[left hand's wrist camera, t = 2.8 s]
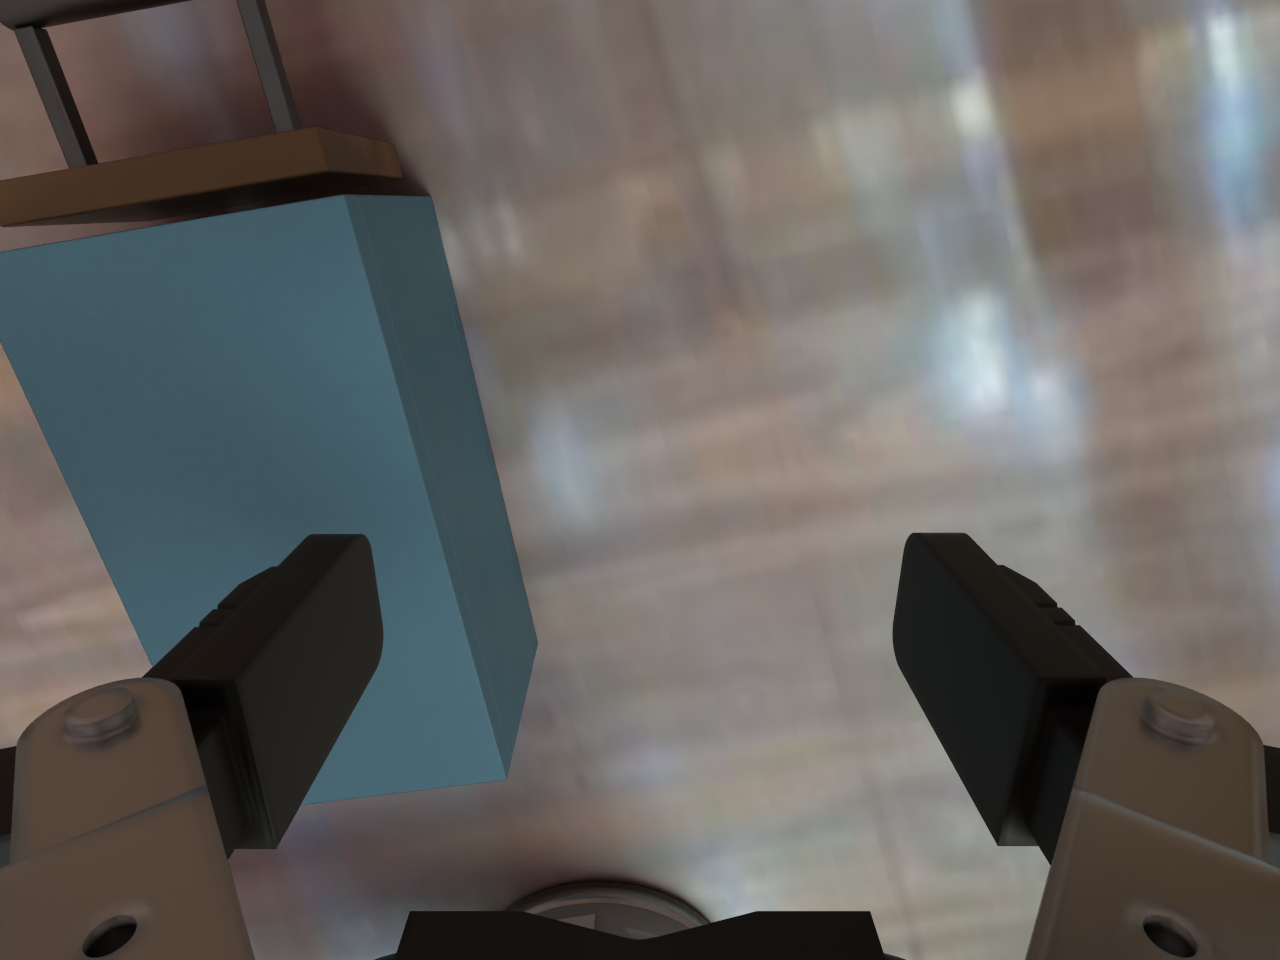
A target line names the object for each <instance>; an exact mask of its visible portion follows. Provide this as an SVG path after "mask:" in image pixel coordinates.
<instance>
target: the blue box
mask: <svg viewBox="0 0 1280 960" xmlns="http://www.w3.org/2000/svg"><path fill="white" fill-rule="evenodd" d="M0 342H1V344H2V346H3V348H4V350H5V352H6V355H7V357H8V359H9V361H10V363H11V365H12V367H13V370H14V372H15V374H16V376H17V378H18V380H19V382H20V385H21V387H22V389H23V391H24V393H25V395H26V397H27V400H28V402H29V404H30V406H31V408H32V410H33V412H34V414H35V417H36V419H37V421H38V423H39V425H40V427H41V429H42V432H43V434H44V436H45V438H46V440H47V442H48V444H49V447H50V449H51V451H52V453H53V455H54V457H55V459H56V462H57V464H58V466H59V468H60V470H61V472H62V474H63V477H64V479H65V481H66V483H67V485H68V487H69V489H70V491H71V494H72V496H73V498H74V500H75V502H76V504H77V506H78V509H79V511H80V513H81V515H82V517H83V519H84V521H85V524H86V526H87V528H88V530H89V532H90V534H91V536H92V539H93V541H94V543H95V545H96V547H97V549H98V551H99V553H100V556H101V558H102V560H103V562H104V564H105V566H106V568H107V571H108V573H109V575H110V577H111V579H112V581H113V583H114V586H115V588H116V590H117V592H118V594H119V596H120V598H121V601H122V603H123V605H124V607H125V609H126V611H127V613H128V616H129V618H130V620H131V622H132V624H133V626H134V628H135V630H136V633H137V635H138V637H139V639H140V641H141V643H142V645H143V648H144V650H145V652H146V654H147V656H148V658H149V660H150V663H151V665H152V667H153V666H155V665H156V664H157V663H158V662H159V661H160V660H161V659H162V658H163V657H164V656H165V655H166V654H167V653H168V652H169V651H170V650H171V649H172V648H173V647H174V646H175V645H176V644H177V643H178V642H179V641H181V640H182V639H183V638H184V637H185V636H186V635H187V634H188V633H189V632H190V631H191V630H192V629H193V628H194V627H199V622H200V621H201V620H202V619H203V618H204V617H205V616H206V615H208V614H209V613H210V612H211V611H212V610H213V609H217V607H218V606H217V605H218V604H219V603H220V602H221V601H222V600H223V599H224V598H225V597H226V596H227V595H228V594H229V593H230V592H231V591H232V590H234V589H235V588H236V587H237V586H238V585H239V584H240V583H242V582H244V581H246V580H248V579H250V578H251V577H253V576H255V575H257V574H259V573H261V572H262V571H264V570H266V569H268V568H270V567H272V566H278V565H279V564H280V563H281V562H282V561H283V560H284V559H285V558H286V557H287V556H288V555H289V554H290V553H291V552H292V551H293V550H294V549H295V548H296V547H297V546H298V545H299V544H300V543H301V542H302V541H303V540H304V539H305V538H306V537H307V536H308V535H310V534H364V535H365V536H366V537H367V538H368V540H369V542H370V545H371V549H372V554H373V561H374V568H375V574H376V581H377V588H378V595H379V601H380V608H381V615H382V622H383V633H384V635H383V648H382V654H381V658H380V662H379V665H378V667H377V669H376V671H375V673H374V675H373V677H372V678H371V680H370V682H369V684H368V685H367V687H366V689H365V691H364V693H363V694H362V696H361V698H360V700H359V702H358V703H357V705H356V707H355V709H354V710H353V712H352V714H351V716H350V718H349V719H348V721H347V723H346V725H345V727H344V728H343V730H342V732H341V734H340V735H339V737H338V739H337V741H336V743H335V744H334V746H333V748H332V750H331V752H330V753H329V755H328V757H327V759H326V761H325V762H324V764H323V766H322V768H321V769H320V771H319V773H318V775H317V777H316V778H315V780H314V782H313V784H312V786H311V787H310V789H309V791H308V793H307V794H306V796H305V798H304V800H303V802H302V803H301V805H304V804H312V803H321V802H329V801H337V800H345V799H354V798H362V797H370V796H378V795H386V794H395V793H403V792H411V791H419V790H428V789H436V788H444V787H452V786H461V785H469V784H477V783H485V782H494V781H502V780H506V779H507V775H508V771H509V766H510V762H511V758H512V753H513V749H514V745H515V740H516V736H517V732H518V727H519V723H520V719H521V714H522V710H523V706H524V701H525V697H526V693H527V688H528V684H529V680H530V675H531V671H532V667H533V662H534V658H535V654H536V649H537V645H538V643H537V638H536V634H535V630H534V626H533V622H532V617H531V613H530V609H529V605H528V601H527V596H526V592H525V588H524V584H523V580H522V575H521V571H520V567H519V563H518V559H517V554H516V550H515V546H514V542H513V538H512V533H511V529H510V525H509V521H508V517H507V513H506V508H505V504H504V500H503V496H502V492H501V487H500V483H499V479H498V475H497V471H496V466H495V462H494V458H493V454H492V450H491V445H490V441H489V437H488V433H487V429H486V424H485V420H484V416H483V412H482V408H481V403H480V399H479V395H478V391H477V387H476V382H475V378H474V374H473V370H472V366H471V361H470V357H469V353H468V349H467V345H466V340H465V336H464V332H463V328H462V324H461V319H460V315H459V311H458V307H457V303H456V298H455V294H454V290H453V286H452V282H451V277H450V273H449V269H448V265H447V261H446V256H445V252H444V248H443V244H442V240H441V235H440V231H439V227H438V223H437V219H436V214H435V210H434V206H433V202H432V198H431V196H395V195H345V194H342V195H336V196H330V197H324V198H318V199H312V200H306V201H300V202H294V203H288V204H282V205H276V206H270V207H264V208H259V209H253V210H247V211H241V212H235V213H229V214H223V215H217V216H211V217H205V218H199V219H193V220H187V221H181V222H175V223H169V224H163V225H157V226H151V227H145V228H139V229H133V230H127V231H121V232H115V233H109V234H104V235H98V236H92V237H86V238H80V239H74V240H68V241H62V242H56V243H50V244H44V245H38V246H32V247H26V248H20V249H14V250H8V251H2V252H0Z"/></svg>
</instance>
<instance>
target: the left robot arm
mask: <svg viewBox="0 0 1280 960" xmlns="http://www.w3.org/2000/svg"><path fill="white" fill-rule="evenodd" d="M217 606H218V607H217V609H213V610H212V611H211V612H210V613H209V614H208V615H206V616H205V617H204V618H203V619H202V620H201V621H200V622H199V627H194V628H193V629H192V630H191V631H190V632H189V633H188V634H187V635H186V636H185V637H184V638H183V639H182V640H181V641H179V642H178V643H177V644H176V645H175V646H174V647H173V648H172V649H171V650H170V651H169V652H168V653H167V654H166V655H165V656H164V657H163V658H162V659H161V660H160V661H159V662H158V663H157V664H156V665H155V666H153V667H152V668H151V669H150V670H149V671H148V672H147V673H146V674H145V675H144V676H143V677H142V678H133V679H125V680H120V681H115V682H111V683H107V684H104V685H100V686H97V687H94V688H91V689H88V690H86V691H83V692H81V693H79V694H76V695H74V696H72V697H70V698H68V699H66V700H64V701H62V702H60V703H58V704H57V705H55V706H53V707H52V708H50V709H48V710H47V711H46V712H44V713H43V714H42V715H40V716H39V717H38V718H36V719H35V720H34V721H33V722H32V723H31V724H30V725H29V726H28V727H27V728H26V729H25V731H24V732H23V733H22V735H21V736H20V738H19V740H18V743H17V746H14V747H9V748H4V749H0V960H255V958H254V955H253V951H252V947H251V944H250V940H249V936H248V933H247V929H246V925H245V922H244V918H243V914H242V911H241V907H240V903H239V900H238V896H237V892H236V889H235V885H234V881H233V878H232V874H231V870H230V867H229V863H228V859H229V857H230V856H231V854H232V853H233V851H234V849H276V848H277V846H278V844H279V843H280V841H281V839H282V837H283V836H284V834H285V832H286V830H287V828H288V827H289V825H290V823H291V821H292V819H293V818H294V816H295V814H296V812H297V811H298V809H299V807H300V805H301V803H302V802H303V800H304V798H305V796H306V794H307V793H308V791H309V789H310V787H311V786H312V784H313V782H314V780H315V778H316V777H317V775H318V773H319V771H320V769H321V768H322V766H323V764H324V762H325V761H326V759H327V757H328V755H329V753H330V752H331V750H332V748H333V746H334V744H335V743H336V741H337V739H338V737H339V735H340V734H341V732H342V730H343V728H344V727H345V725H346V723H347V721H348V719H349V718H350V716H351V714H352V712H353V710H354V709H355V707H356V705H357V703H358V702H359V700H360V698H361V696H362V694H363V693H364V691H365V689H366V687H367V685H368V684H369V682H370V680H371V678H372V677H373V675H374V673H375V671H376V669H377V667H378V665H379V662H380V658H381V654H382V648H383V635H384V633H383V622H382V615H381V608H380V601H379V595H378V588H377V581H376V574H375V568H374V561H373V554H372V549H371V545H370V542H369V540H368V538H367V537H366V536H365V535H364V534H310V535H308V536H307V537H306V538H305V539H304V540H303V541H302V542H301V543H300V544H299V545H298V546H297V547H296V548H295V549H294V550H293V551H292V552H291V553H290V554H289V555H288V556H287V557H286V558H285V559H284V560H283V561H282V562H281V563H280V564H279V565H278V566H272V567H270V568H268V569H266V570H264V571H262V572H261V573H259V574H257V575H255V576H253V577H251V578H250V579H248V580H246V581H244V582H242V583H240V584H239V585H238V586H237V587H236V588H235V589H234V590H232V591H231V592H230V593H229V594H228V595H227V596H226V597H225V598H224V599H223V600H222V601H221V602H220V603H219V604H218V605H217ZM893 646H894V652H895V657H896V660H897V663H898V666H899V668H900V670H901V672H902V673H903V675H904V677H905V679H906V681H907V682H908V684H909V686H910V688H911V690H912V691H913V693H914V695H915V697H916V699H917V700H918V702H919V704H920V706H921V708H922V710H923V711H924V713H925V715H926V717H927V719H928V720H929V722H930V724H931V726H932V728H933V729H934V731H935V733H936V735H937V737H938V738H939V740H940V742H941V744H942V746H943V748H944V749H945V751H946V753H947V755H948V757H949V758H950V760H951V762H952V764H953V766H954V767H955V769H956V771H957V773H958V775H959V776H960V778H961V780H962V782H963V784H964V785H965V787H966V789H967V791H968V793H969V795H970V796H971V798H972V800H973V802H974V804H975V805H976V807H977V809H978V811H979V813H980V814H981V816H982V818H983V820H984V822H985V823H986V825H987V827H988V829H989V831H990V833H991V834H992V836H993V838H994V840H995V842H996V843H997V845H998V846H1039V847H1040V849H1041V851H1042V852H1043V854H1044V855H1045V857H1046V859H1047V860H1048V862H1049V864H1050V865H1051V867H1050V870H1049V874H1048V878H1047V881H1046V885H1045V889H1044V892H1043V896H1042V900H1041V903H1040V907H1039V911H1038V914H1037V918H1036V922H1035V925H1034V929H1033V933H1032V936H1031V940H1030V944H1029V947H1028V951H1027V955H1026V958H1025V960H1280V748H1276V747H1271V746H1266V745H1263V743H1262V740H1261V738H1260V736H1259V735H1258V733H1257V732H1256V731H1255V729H1254V728H1253V727H1252V726H1251V725H1250V724H1249V723H1248V722H1247V721H1246V720H1245V719H1244V718H1242V717H1241V716H1240V715H1238V714H1237V713H1236V712H1234V711H1233V710H1232V709H1230V708H1228V707H1227V706H1225V705H1223V704H1222V703H1220V702H1218V701H1216V700H1214V699H1212V698H1210V697H1208V696H1206V695H1204V694H1201V693H1199V692H1197V691H1194V690H1192V689H1189V688H1186V687H1183V686H1180V685H1176V684H1173V683H1169V682H1165V681H1160V680H1155V679H1147V678H1133V677H1132V676H1131V675H1130V674H1129V673H1128V672H1127V671H1126V670H1125V669H1124V668H1123V667H1122V666H1121V665H1120V664H1119V663H1118V662H1117V661H1116V660H1115V659H1114V658H1113V657H1112V656H1111V655H1110V654H1109V653H1108V652H1107V651H1106V650H1105V649H1104V648H1103V647H1102V646H1101V645H1099V644H1098V643H1097V642H1096V641H1095V640H1094V639H1093V638H1092V637H1091V636H1090V635H1089V634H1088V633H1087V632H1086V631H1085V630H1084V629H1083V628H1082V627H1081V626H1080V625H1075V620H1074V619H1073V618H1072V617H1071V616H1070V615H1069V614H1068V613H1067V612H1065V611H1064V610H1063V609H1062V608H1058V607H1057V603H1056V602H1055V601H1054V600H1053V599H1052V598H1051V597H1050V596H1049V595H1048V594H1047V593H1046V592H1045V591H1044V590H1043V589H1042V588H1041V587H1040V586H1039V585H1038V584H1037V583H1035V582H1034V581H1032V580H1030V579H1028V578H1026V577H1024V576H1022V575H1021V574H1019V573H1017V572H1015V571H1013V570H1011V569H1010V568H1008V567H1006V566H1004V565H997V564H996V563H995V562H994V561H993V560H992V559H991V558H990V557H989V556H988V555H987V554H986V553H985V552H984V551H983V550H982V549H981V548H980V547H979V546H978V545H977V544H976V543H975V541H974V540H973V539H972V538H971V537H970V536H968V535H967V534H965V533H912V534H911V535H910V536H909V537H908V539H907V541H906V544H905V547H904V553H903V559H902V566H901V573H900V580H899V587H898V594H897V601H896V607H895V614H894V621H893ZM375 960H905V959H902V958H899V957H896V956H892V955H889V954H885V953H883V950H882V947H881V944H880V941H879V938H878V935H877V931H876V928H875V925H874V922H873V919H872V916H871V913H870V911H756V912H752V913H749V914H745V915H741V916H737V917H733V918H729V919H725V920H721V921H717V922H713V923H709V924H705V925H702V926H698V927H694V928H690V929H686V930H682V931H678V932H674V933H670V934H666V935H662V936H658V937H655V938H649V939H631V938H625V937H622V936H618V935H614V934H610V933H606V932H602V931H598V930H594V929H590V928H586V927H582V926H578V925H575V924H571V923H567V922H563V921H559V920H555V919H551V918H547V917H543V916H539V915H535V914H531V913H528V912H524V911H410V913H409V916H408V919H407V922H406V925H405V928H404V931H403V935H402V938H401V941H400V944H399V947H398V950H397V953H395V954H391V955H388V956H384V957H381V958H378V959H375Z"/></svg>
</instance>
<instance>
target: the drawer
mask: <svg viewBox="0 0 1280 960" xmlns="http://www.w3.org/2000/svg"><path fill="white" fill-rule="evenodd" d="M185 1H190V0H0V22H1V23H2V24H3V25H4V26H6V27H7V28H9V29H11V30H14V32H15V34H16V37H17V39H18V42H19V44H20V47H21V49H22V52H23V54H24V57H25V59H26V62H27V64H28V67H29V69H30V72H31V74H32V77H33V79H34V82H35V84H36V87H37V89H38V92H39V94H40V97H41V99H42V102H43V104H44V107H45V109H46V112H47V114H48V117H49V119H50V122H51V124H52V127H53V129H54V132H55V134H56V137H57V139H58V142H59V144H60V147H61V149H62V152H63V154H64V157H65V159H66V162H67V164H68V167H69V169H64V170H58V171H53V172H47V173H41V174H35V175H30V176H24V177H18V178H12V179H7V180H1V181H0V226H2V227H18V226H42V225H66V224H90V223H114V222H138V221H153V220H159V219H164V218H170V217H176V216H182V215H188V214H194V213H200V212H206V211H212V210H218V209H224V208H230V207H236V206H242V205H248V204H254V203H260V202H266V201H272V200H277V199H283V198H289V197H295V196H301V195H307V194H313V193H319V192H325V191H331V190H337V189H343V188H349V187H355V186H361V185H367V184H373V183H379V182H385V181H390V180H396V179H401V178H402V173H401V168H400V164H399V160H398V156H397V152H396V148H395V145H394V144H391V143H386V142H382V141H378V140H373V139H369V138H365V137H360V136H356V135H351V134H347V133H343V132H338V131H334V130H330V129H325V128H321V127H316V126H312V127H307V128H301V125H300V122H299V118H298V115H297V111H296V108H295V105H294V101H293V98H292V94H291V91H290V87H289V84H288V80H287V77H286V73H285V70H284V66H283V63H282V60H281V56H280V53H279V49H278V46H277V42H276V39H275V35H274V32H273V28H272V25H271V21H270V18H269V15H268V11H267V8H266V4H265V1H264V0H237V4H238V7H239V10H240V14H241V17H242V20H243V24H244V27H245V30H246V34H247V37H248V40H249V44H250V47H251V50H252V54H253V57H254V60H255V64H256V67H257V70H258V74H259V77H260V80H261V83H262V87H263V90H264V93H265V97H266V100H267V103H268V107H269V110H270V113H271V117H272V120H273V123H274V127H275V130H276V133H272V134H266V135H260V136H255V137H249V138H243V139H237V140H232V141H226V142H220V143H214V144H208V145H203V146H197V147H191V148H185V149H180V150H174V151H168V152H162V153H157V154H151V155H145V156H139V157H133V158H128V159H122V160H116V161H110V162H105V163H99V164H98V161H97V159H96V156H95V154H94V151H93V148H92V146H91V143H90V141H89V138H88V136H87V133H86V130H85V128H84V125H83V123H82V120H81V117H80V115H79V112H78V110H77V107H76V104H75V102H74V99H73V97H72V94H71V91H70V89H69V86H68V84H67V81H66V78H65V76H64V73H63V71H62V68H61V65H60V63H59V60H58V58H57V55H56V53H55V50H54V47H53V45H52V42H51V40H50V37H49V34H48V32H47V30H46V29H42V28H44V27H50V26H55V25H60V24H66V23H71V22H77V21H82V20H87V19H93V18H98V17H104V16H109V15H114V14H120V13H125V12H131V11H136V10H142V9H147V8H152V7H158V6H163V5H169V4H174V3H179V2H185Z"/></svg>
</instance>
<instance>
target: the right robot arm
mask: <svg viewBox="0 0 1280 960" xmlns="http://www.w3.org/2000/svg"><path fill="white" fill-rule="evenodd" d="M506 911H524V912H528V913H531V914H535V915H539V916H543V917H547V918H551V919H555V920H559V921H563V922H567V923H571V924H575V925H578V926H582V927H586V928H590V929H594V930H598V931H602V932H606V933H610V934H614V935H618V936H622V937H625V938H631V939H649V938H655V937H658V936H662V935H666V934H670V933H674V932H678V931H682V930H686V929H690V928H694V927H698V926H702V925H705V924H709V923H708V922H707V921H706V920H705V919H704V918H703V917H701V916H700V915H699V914H698V913H697V912H695V911H694V910H693V909H691V908H690V907H688V906H687V905H685V904H684V903H682V902H680V901H678V900H676V899H675V898H672V897H670V896H668V895H666V894H663V893H661V892H658V891H655V890H652V889H648V888H645V887H641V886H636V885H631V884H625V883H616V882H582V883H573V884H568V885H562V886H558V887H554V888H550V889H547V890H544V891H541V892H538V893H536V894H534V895H531V896H529V897H527V898H525V899H523V900H521V901H519V902H518V903H516V904H514V905H513V906H511V907H510V908H509V909H507V910H506Z"/></svg>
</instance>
